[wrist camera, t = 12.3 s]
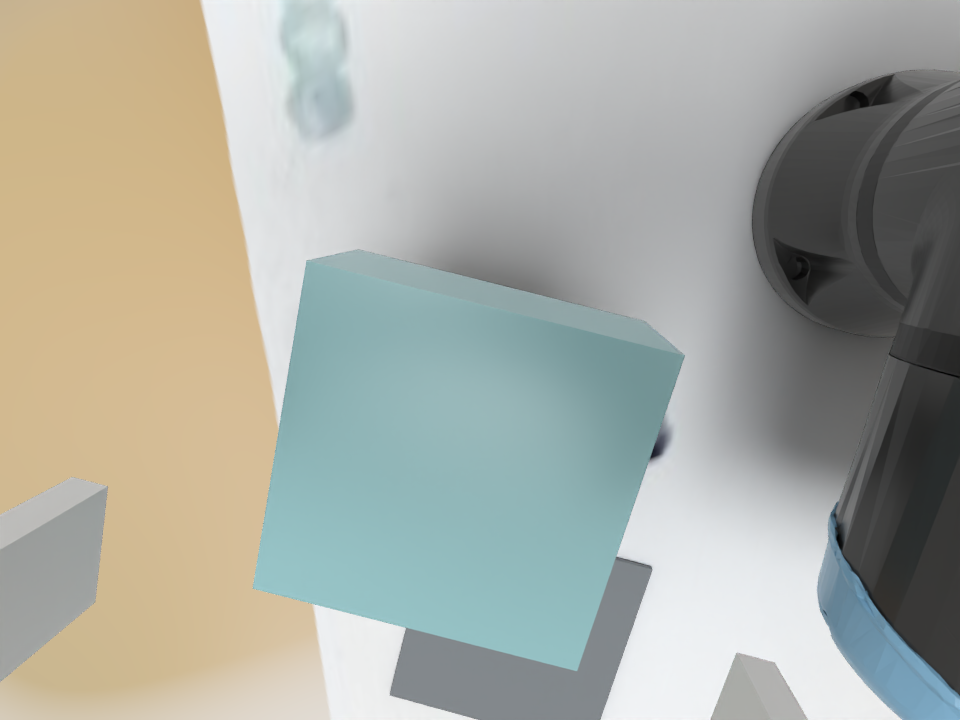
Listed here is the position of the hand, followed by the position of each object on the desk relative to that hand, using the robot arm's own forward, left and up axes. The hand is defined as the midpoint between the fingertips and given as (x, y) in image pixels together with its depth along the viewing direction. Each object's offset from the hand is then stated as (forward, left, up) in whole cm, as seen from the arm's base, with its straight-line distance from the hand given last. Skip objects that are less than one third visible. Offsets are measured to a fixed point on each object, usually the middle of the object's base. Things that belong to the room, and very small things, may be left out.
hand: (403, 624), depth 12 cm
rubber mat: (-7, +20, -29) cm, 36 cm away
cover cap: (0, 0, -14) cm, 14 cm away
